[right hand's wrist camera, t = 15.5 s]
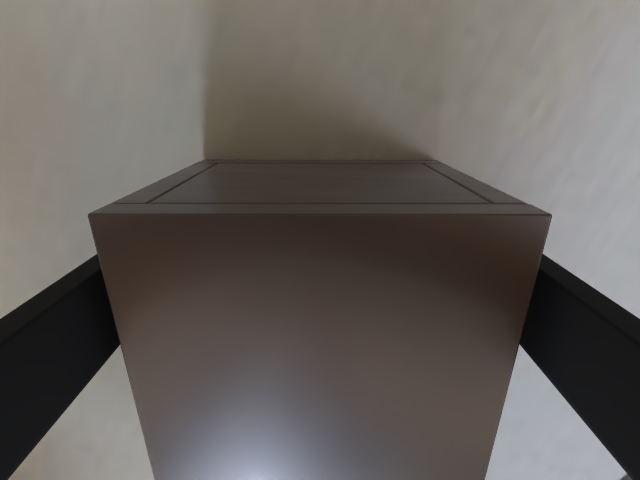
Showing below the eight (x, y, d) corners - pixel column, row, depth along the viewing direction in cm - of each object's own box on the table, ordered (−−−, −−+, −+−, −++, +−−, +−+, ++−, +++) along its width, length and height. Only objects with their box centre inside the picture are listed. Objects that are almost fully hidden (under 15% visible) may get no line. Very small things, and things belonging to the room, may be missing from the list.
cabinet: (404, 432, 21) (450, 613, 13) (234, 431, 21) (187, 613, 13) (437, 159, 15) (553, 214, 8) (202, 159, 15) (86, 213, 8)
